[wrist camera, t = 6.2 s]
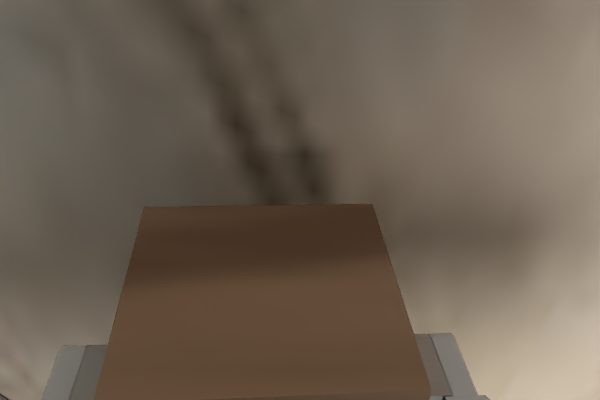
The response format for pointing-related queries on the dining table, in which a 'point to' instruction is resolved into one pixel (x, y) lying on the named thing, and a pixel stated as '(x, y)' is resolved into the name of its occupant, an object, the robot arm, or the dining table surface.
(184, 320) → the walnut block
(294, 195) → the dining table surface
